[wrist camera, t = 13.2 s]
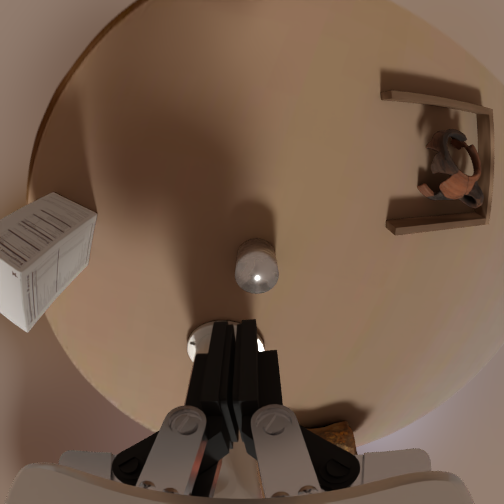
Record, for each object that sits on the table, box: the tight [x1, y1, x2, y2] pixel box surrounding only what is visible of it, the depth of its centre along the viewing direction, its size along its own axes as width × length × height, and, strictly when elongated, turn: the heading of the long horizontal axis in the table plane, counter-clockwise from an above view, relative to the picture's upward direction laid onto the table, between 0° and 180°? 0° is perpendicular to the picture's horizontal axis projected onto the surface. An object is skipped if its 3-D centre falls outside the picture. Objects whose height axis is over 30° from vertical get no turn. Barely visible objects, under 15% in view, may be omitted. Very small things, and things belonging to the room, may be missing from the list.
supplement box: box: [0, 192, 97, 332], centre depth 27 cm, size 10×9×17 cm
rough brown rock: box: [308, 421, 358, 455], centre depth 50 cm, size 23×17×15 cm
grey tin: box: [235, 239, 279, 294], centre depth 34 cm, size 5×5×5 cm
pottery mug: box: [417, 129, 484, 208], centre depth 28 cm, size 12×10×8 cm
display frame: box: [381, 90, 494, 235], centre depth 29 cm, size 18×19×3 cm
